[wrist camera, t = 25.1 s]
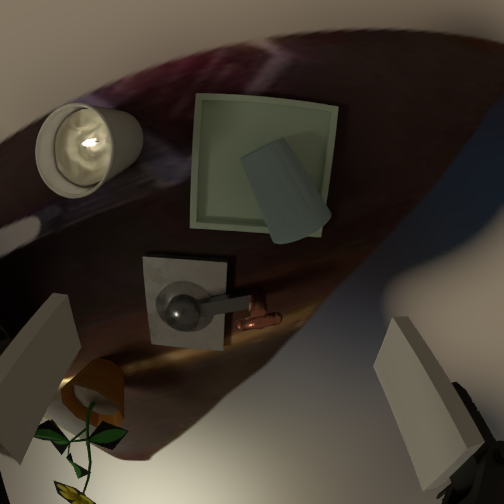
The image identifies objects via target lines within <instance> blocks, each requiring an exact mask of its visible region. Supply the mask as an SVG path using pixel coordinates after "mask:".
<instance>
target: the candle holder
mask: <svg viewBox="0 0 504 504" xmlns="http://www.w3.org/2000/svg"><path fill="white" fill-rule="evenodd" d="M142 147H143V131H142V128H141V126H140V124H139V122H138V121H137V119H136V118H135V117H134V116H132V115H131V114H129V113H127V112H125V111H121V110H117V109H111V108H105V107H99V106H92V105H87V104H83V103H71V104H67V105H64V106H62V107H60V108H58V109H57V110H55V111H54V112H53V113H52V114H51V115H50V116H49V117H48V118H47V119H46V121H45V122H44V124H43V125H42V127H41V129H40V132H39V134H38V138H37V142H36V162H37V167H38V170H39V173H40V175H41V177H42V179H43V180H44V182H45V183H46V185H47V186H48V187H49V188H50V189H51V190H52V191H54V192H55V193H57V194H59V195H61V196H63V197H67V198H81V197H85V196H87V195H89V194H91V193H93V192H94V191H96V190H97V189H98V188H99V187H100V186H102V185H103V184H104V183H106V182H107V181H109V180H110V179H112V178H113V177H115V176H116V175H118V174H119V173H121V172H122V171H124V170H125V169H127V168H128V167H130V166H131V165H132V164H133V163H134V162H135V161H136V160H137V158H138V157H139V155H140V153H141V150H142Z"/></svg>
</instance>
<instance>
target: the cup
mask: <svg viewBox="0 0 504 504" xmlns="http://www.w3.org/2000/svg"><path fill="white" fill-rule="evenodd" d="M240 160H241V163H242V165H243V168H244V170H245V173H246V175H247V178H248V180H249V183H250V185H251V188H252V190H253V193H254V195H255V198H256V200H257V203H258V205H259V208H260V210H261V213H262V215H263V218H264V220H265V223H266V225H267V228H268V230H269V233H270V236H271V238H272V241H273V242H274V243H276V244H285V243H290V242H294V241H297V240H299V239H302V238H304V237H306V236H308V235H310V234H312V233H314V232H315V231H317V230H318V229H320V228H321V227H323V226H324V225H325V224H326V223H327V222H328V221H329V219H330V218H331V212H330V210H329V209H328V207H327V205H326V204H325V202H324V200H323V199H322V197H321V195H320V194H319V192H318V190H317V189H316V187H315V185H314V184H313V182H312V181H311V179H310V177H309V176H308V174H307V172H306V171H305V169H304V168H303V166H302V165H301V163H300V161H299V160H298V158H297V157H296V155H295V154H294V152H293V150H292V149H291V147H290V146H289V144H288V143H287V141H286V140H285V138H284V137H282V138H279V139H277V140H275V141H273V142H270V143H268V144H266V145H264V146H262V147H260V148H258V149H256V150H254V151H252V152H251V153H249V154H247V155H245V156H243V157H242V158H241V159H240Z"/></svg>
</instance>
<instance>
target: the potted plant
mask: <svg viewBox="0 0 504 504" xmlns="http://www.w3.org/2000/svg"><path fill="white" fill-rule="evenodd" d="M124 379H125V378H124V375H123V372H122V369H121V368H120V367H118V366H117V365H116V364H115V363H113V362H112V361H110V360H107V359H103V358H97V359H95V360H93V361H91V362H90V363H89V364H88V365H87V366H86V367H85V368H84V369H82V370H81V371H80V372H79V373H78V374H77V375H76V376H75V377H74V378H73V379H71V380H70V381H69V382H68V383H67V384H66V385H65V386H64V387H63V388H62V389H61V395H62V402H63V404H64V405H65V406H66V407H67V408H68V409H69V410H70V411H71V412H72V413H73V414H74V415H75V416H76V417H77V418H79V419H81V420H83V421H85V422H86V428H85V429H84V430H82V431H81V432H80V433H79V434H78V435H77V436H75V437H74V438H73V439H72V440H71V441H69V440H68V439H67V437H66V436H65V435H64V434H63V432H62V431H61V430H60V429H59V427H58V426H57V425H56V423H55V422H54V421H53V419H52V420H51V421H50V420H47V421H46V422H44V423H42V424H40V425H39V426H38V428H37V430H36V432H35V434H34V436H33V437H35V438H38V439H42V440H50V441H51V442H52V443H53V445H54V446H55V447H56V449H57V450H58V451H59V452H60V453H61V455H62V454H63V452H64V451H65V449H66V448H67V446H68V445H69V446H68V456H67V457H66V458H67V459H68V461H69V462H70V463H71V464H72V465H73V467H74V469H75V472H76V474H77V477H78V478H81V477H83V476H85V475H87V474H88V476H87V481H86V484H85V487H84V490H83V492H80V491H79V490H77V489H76V488H74V487H71V486H68V485H65V484H62V483H59V482H56V481H54V483H55V486H56V490H57V493H58V494H59V495H61V496H62V497H63V498H64V499H66V500H67V501H68V502H70V503H71V504H96V503H95V502H93V501H92V500H90V499H89V498H88V497H86V495H85V494H84V493H85V490H86V487H87V484H88V481H89V478H90V473H91V472H90V470H91V462H92V461H91V452H90V442H92V443H94V444H97V445H100V446H103V447H105V448H108V449H111V450H113V449H114V448H115V447H116V445H117V444H118V443H119V442H120V441H121V439H122V438H123V437H124V436H125V435H126V434H127V432H128V431H127V430H125V429H122V428H120V427H118V426H119V425H121V424H122V423H123V422H124ZM89 424H91V425H93V426H95V427H97V428H96V429H95V431H94V432H93V433H92V434H91V436H90V437H89ZM85 431H86V439H79V440H75V439H76V438H77V437H78V436H80V435H81V434H82V433H83V432H85ZM80 441H86V445H87V450H88V458H89V467H88V471H87V470H86V469H84V468H82V467H81V466H79V465H77V464H76V463H74V462H73V460H72V456H71V453H70V454H69V448H70V443H71V442H80Z"/></svg>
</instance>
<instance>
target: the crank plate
mask: <svg viewBox="0 0 504 504" xmlns="http://www.w3.org/2000/svg"><path fill="white" fill-rule="evenodd" d="M227 261H228V259H223V258H208V257H194V256H179V255H165V254H151V253H145V254H144V255H143V269H144V281H145V292H146V302H147V311H148V320H149V328H150V336H151V343H152V344H156V345H164V346H173V347H183V348H194V349H205V350H218V351H223V347H224V324H225V313H224V314H218V315H212V316H206V317H201V318H200V319H199V324H198V326H197V327H196V328H195V329H193V330H191V331H187V332H182V331H178V330H175V329H173V328H172V327H171V326H170V325H169V324H168V323H167V321H166V319H165V312H166V309H167V307H168V304H169V302H170V300H171V299H172V298H173V297H174V296H176V295H181V294H184V295H189V296H192V297H193V298H195V299H196V300H200V299H205V298H210V297H216V296H221V295H226V281H227Z"/></svg>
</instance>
